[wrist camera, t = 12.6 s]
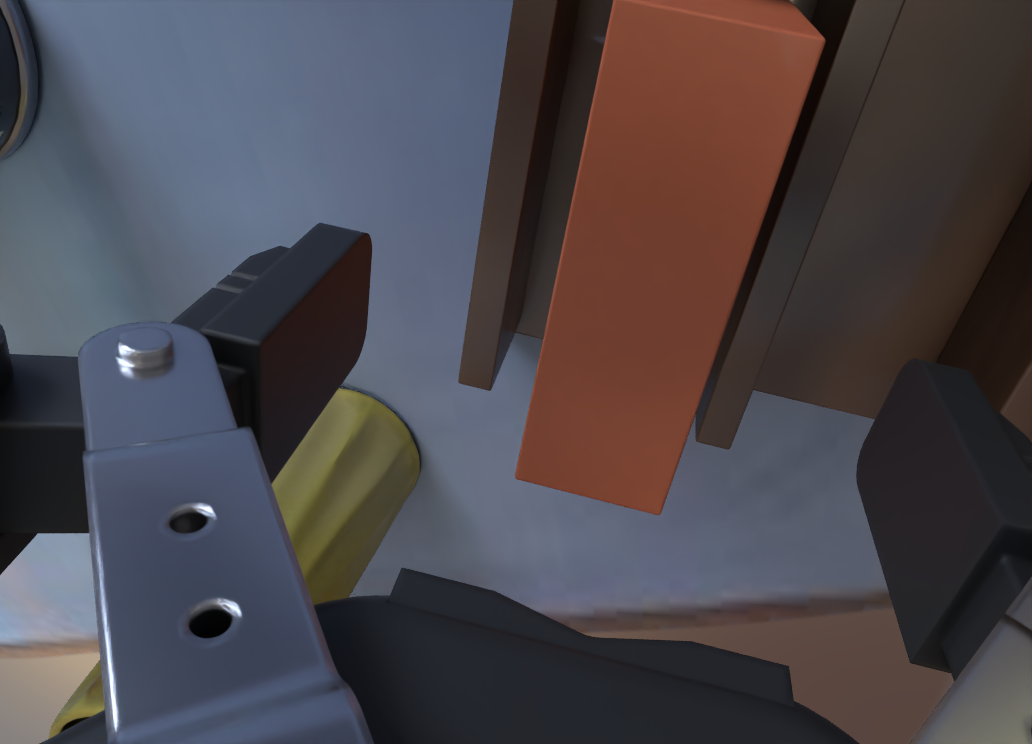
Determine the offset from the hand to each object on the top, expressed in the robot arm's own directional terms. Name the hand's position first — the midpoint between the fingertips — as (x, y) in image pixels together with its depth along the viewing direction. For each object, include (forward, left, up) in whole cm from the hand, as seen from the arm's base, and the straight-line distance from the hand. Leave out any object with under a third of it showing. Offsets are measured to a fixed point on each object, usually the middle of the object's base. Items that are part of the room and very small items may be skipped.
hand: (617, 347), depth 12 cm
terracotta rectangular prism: (0, 0, -13) cm, 13 cm away
